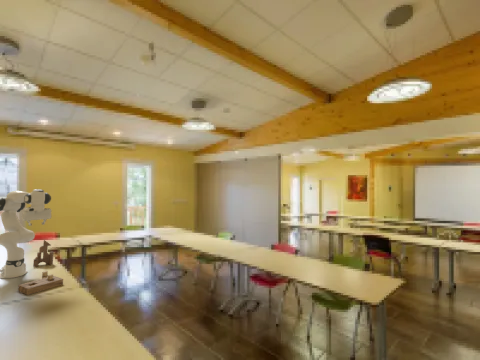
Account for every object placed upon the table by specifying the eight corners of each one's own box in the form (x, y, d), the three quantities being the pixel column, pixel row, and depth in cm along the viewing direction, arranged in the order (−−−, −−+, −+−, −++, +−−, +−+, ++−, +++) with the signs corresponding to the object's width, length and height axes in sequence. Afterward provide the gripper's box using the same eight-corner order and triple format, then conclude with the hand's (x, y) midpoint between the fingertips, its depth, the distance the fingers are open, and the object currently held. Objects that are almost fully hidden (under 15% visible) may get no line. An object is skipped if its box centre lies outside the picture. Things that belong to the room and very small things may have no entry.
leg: (40, 281, 208) (41, 272, 208) (45, 280, 211) (46, 270, 212) (43, 282, 206) (43, 272, 207) (48, 281, 210) (48, 271, 210)
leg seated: (46, 285, 201) (46, 275, 201) (51, 283, 204) (51, 274, 205) (48, 286, 199) (49, 276, 200) (53, 284, 203) (54, 274, 203)
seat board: (18, 291, 189) (18, 285, 189) (53, 281, 210) (53, 275, 211) (27, 294, 183) (28, 288, 183) (62, 284, 204) (63, 278, 204)
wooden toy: (33, 267, 244) (34, 241, 245) (33, 265, 249) (34, 240, 250) (52, 264, 254) (54, 240, 255) (52, 263, 259) (54, 239, 260)
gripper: (49, 207, 221) (48, 223, 220) (21, 209, 203) (20, 226, 202) (53, 208, 218) (52, 224, 218) (25, 209, 200) (24, 226, 199)
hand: (36, 225), depth 210 cm, fingers open, 8 cm apart
